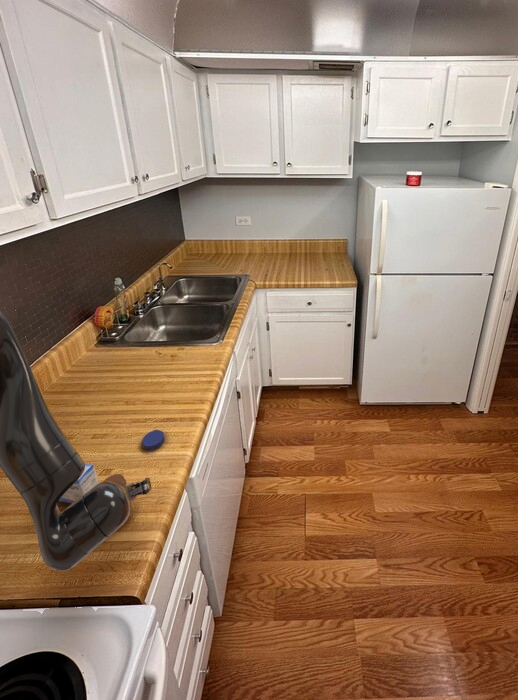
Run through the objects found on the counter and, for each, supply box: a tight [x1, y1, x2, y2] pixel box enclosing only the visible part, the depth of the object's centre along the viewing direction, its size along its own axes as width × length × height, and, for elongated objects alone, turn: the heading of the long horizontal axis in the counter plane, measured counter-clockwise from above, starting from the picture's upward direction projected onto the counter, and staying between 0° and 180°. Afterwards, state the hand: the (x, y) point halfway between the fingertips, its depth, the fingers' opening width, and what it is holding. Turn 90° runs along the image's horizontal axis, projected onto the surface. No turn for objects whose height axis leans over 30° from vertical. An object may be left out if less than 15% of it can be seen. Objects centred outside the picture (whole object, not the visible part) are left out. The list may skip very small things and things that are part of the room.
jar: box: [103, 473, 135, 525], centre depth 74 cm, size 5×5×10 cm
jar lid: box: [141, 429, 166, 452], centre depth 94 cm, size 6×6×2 cm
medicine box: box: [58, 463, 100, 504], centre depth 78 cm, size 8×4×9 cm, turn 82°
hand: (116, 497), depth 74 cm, fingers open, 8 cm apart
